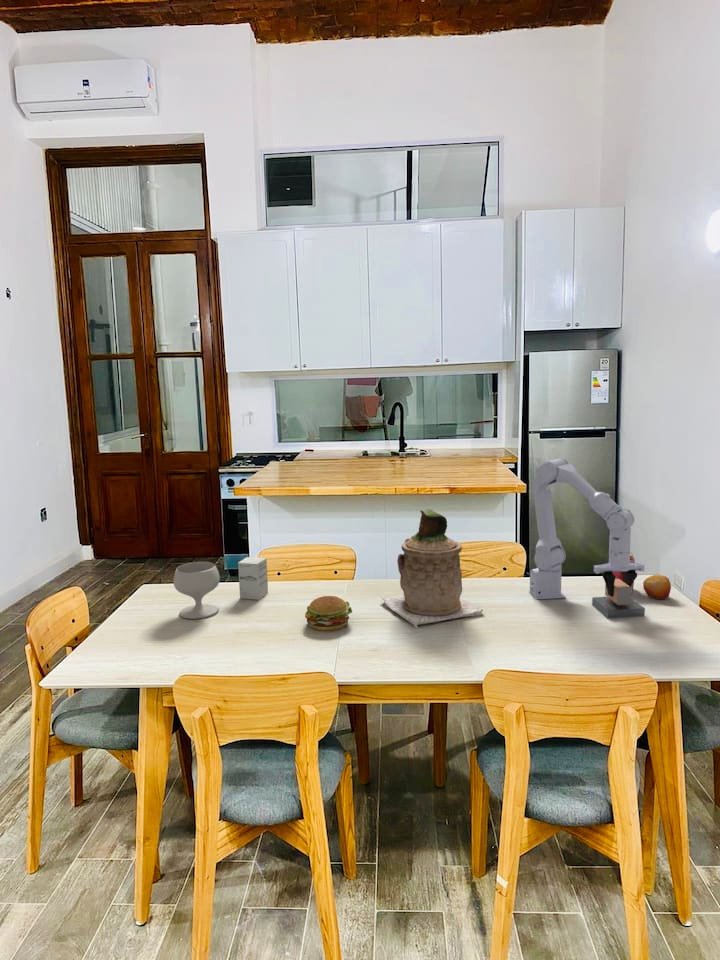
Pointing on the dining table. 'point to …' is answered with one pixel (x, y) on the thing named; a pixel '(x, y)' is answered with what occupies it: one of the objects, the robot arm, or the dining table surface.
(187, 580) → the chalice
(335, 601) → the food
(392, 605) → the cookie jar
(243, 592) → the supplement box
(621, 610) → the stand
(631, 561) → the soda can
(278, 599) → the dining table surface
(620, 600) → the block
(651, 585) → the fruit
